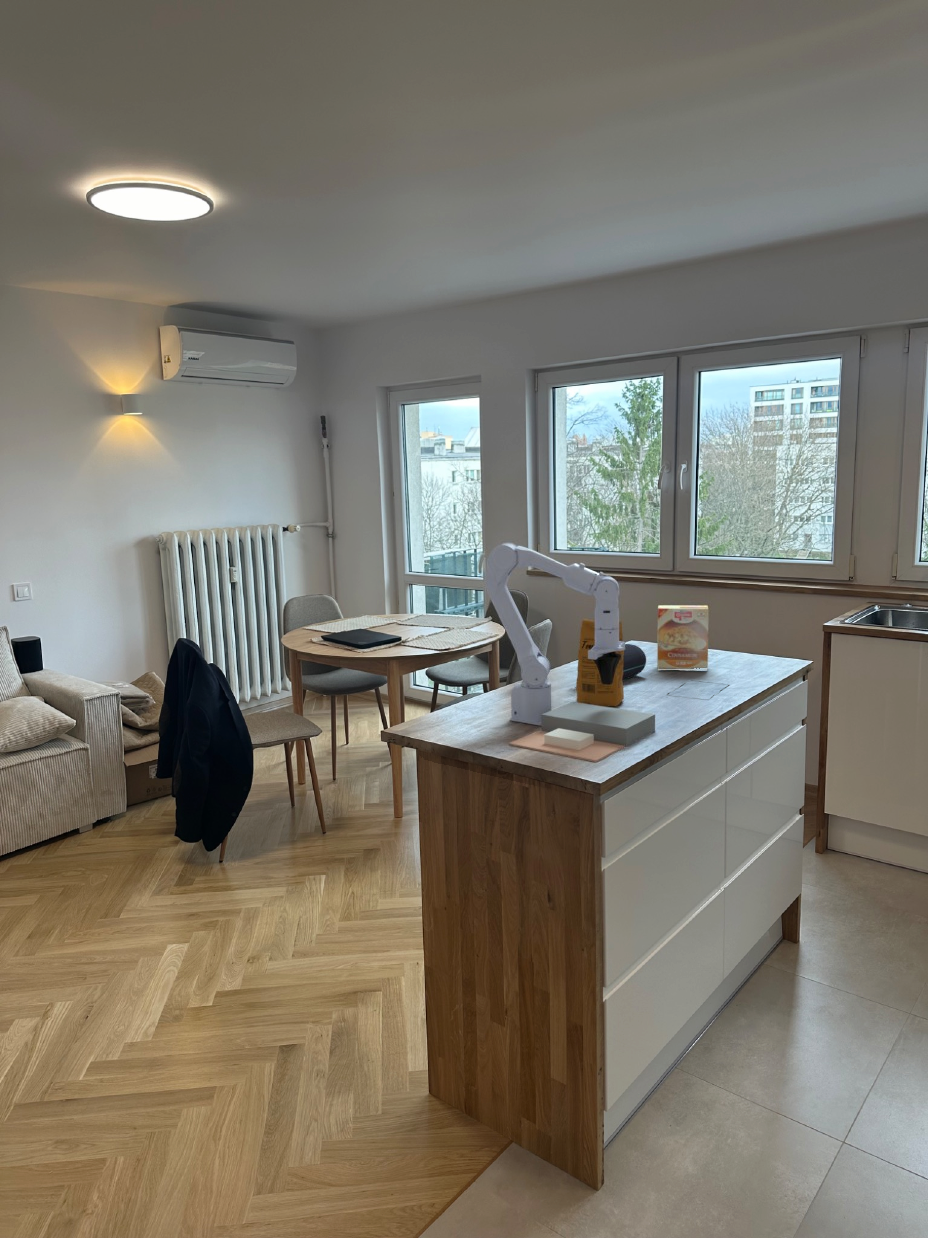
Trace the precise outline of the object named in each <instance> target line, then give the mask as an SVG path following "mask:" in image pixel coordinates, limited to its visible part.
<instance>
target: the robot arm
mask: <svg viewBox="0 0 928 1238" xmlns="http://www.w3.org/2000/svg"><path fill="white" fill-rule="evenodd" d="M516 567H517V568H518V569H521V568H528V567H532V568H535V569H537V570H541V571H543V572H546V573H548V574H550V575H553V576H556V577H559V578H561V579H562V581H563V583H564V585H565V586H566V587H567V588H571V589H573V590H575V591H578V592H580V593H582V594H585V595H588V596H594V598H595V608H594V621H595V646H594V647H593V648H592V649H591V650H589V651H588V659H593V660H594V662H595V663H596V665H597V668H598V670H599V674H600V678H601V682H602V684H606V685H610V684H612V682H613V678H614V674H615V670H616V667H617V665H618V663H619V661H620V659H621V654H617V653H616V651H622V650H625V644H626V642H625V641H623V642H622V641H619V621H620V609H619V599H618V598H619V596H620V594H621V593H620V586H619V583H618V581H617V579H615V578H613V577H612V576H610V575H605V573H604V572H603V571H600V572H597V571H594V570H592V569H589V568H587V567H586V564H584V563H582V562H580V563H579V564H578V563H575V562H574V563H572V564H570V565H566V564H565V563H562V562H559V561H557V560H555V559H553V558H551V557H549V556H547V555H545V554H542V553H541V552H538V551H536V550H534V549H531V548H528V547H525V546H522V545H516V544H515V543H512V542H504V543H501V544H499V545H497V546H496V547H494V548H493V549H492V550H491V552H490V554H489V556H488V558H487V559H486V572H485V580H484V588H485V590H486V593H487V595H488V596H489V600H490V601H491V603H492V604H493V607H494V609H495V611H496V613H497V615H498V617H499V619H500V622H501V623H502V625H503V628H504V630H505V631H506V635H507V636H508V639H509V640H510V642H511V645H512V647H513V649H514V651H515V653H516V658H517V662H518V664H519V667H520V670H521V671H520V676H521V679H522V680H521V682H517V683H515V684H514V686H513V687H512V689H511V694H510V695H511V696H510V698H511V699H510V703H511V704H510V708H511V717H510V718H509V720H510V721H512V722H516V723H522V724H528V725H534V726H540V727H542V726H541V714H544V713H546V712H549V711H551V710H552V682H551V680H549V678H548V675H549V673H550V671H551V663H550V661H549V659H548V658H547V657H546V656H545V655H543V654H542V652H541V650H540V648H539V647H538V646H537V645H536V643H535V642H534V640H533V638H532V636H531V633H530V631H529V630H528V628H527V624H526V623H525V621H524V619H523V617H522V615H521V613H520V611H519V609H518V607H517V605H516V603H515V601H514V599H513V597H512V594H511V593H510V590H509V588H508V586H507V584H508V582H509V580H510V576H511V575H512V574H511V573H512V572H513V570H514V569H515V568H516Z"/></svg>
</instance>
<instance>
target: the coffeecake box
mask: <svg viewBox="0 0 928 1238" xmlns="http://www.w3.org/2000/svg"><path fill="white" fill-rule="evenodd" d="M709 614H710V613H709V607H708V605H682V604H681V605H674V604H673V605H671V604H669V605H665V604H664V605H663V604H662V605H658V606H657V647H656V649H657V650H656V653H657V654H656V655H657V658H656V660H657V661H656V663H657V665H656V666H657V668H658V669H694V668H696V669H697V668H699V669H700V668H709V667H708V666H709V665H708V664H709V663H708V662H709V617H710V616H709ZM658 669H657V670H658Z"/></svg>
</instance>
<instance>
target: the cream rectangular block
mask: <svg viewBox="0 0 928 1238" xmlns="http://www.w3.org/2000/svg"><path fill="white" fill-rule="evenodd" d="M544 743H545V744H550V745H555V746H560V747H566V748H571V749H576V750H581V749H583V748H585V747H587V746H589V745H591V744H593V743H594V734H589V733H583V732H577V731H571V730H566V729H560V728H558V729H556V730H554V731H551V732H549V733H547V734H545V735H544Z"/></svg>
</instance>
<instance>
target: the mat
mask: <svg viewBox="0 0 928 1238" xmlns="http://www.w3.org/2000/svg"><path fill="white" fill-rule="evenodd" d="M547 733H549V732H545V731H542V730H537V731H535V732H533V733H532V732H531V733H530V734H528V735H525V736H523V737H520V738H518V739H515V740H514V741H511V742H509V743H508V745H509V746H512V745H513V746H514V747H517V746H519V747H518V748H523V749H528V750H534V751H538V752H544V753H546V754H547V753H549V754H552V755H559V756H562V757H563V756H564V757H569V758H573V759H579V760H583V761H589V762H592V763H593V762H594V763H597V762H600V761H602V760H604V759H605V758H607V757H609V756H611V755H613V754H615V753H616V752H618V751H620V750H623V749H624V748H625V746H622V745H617V744H611V743H606V742H600V741H595V740H594V743H593V744H591V745H589V746H587V747H585V748H583V749H581V750H576V749H571V748H566V747H560V746H555V745H550V744H545V743H544V735H545V734H547Z"/></svg>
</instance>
